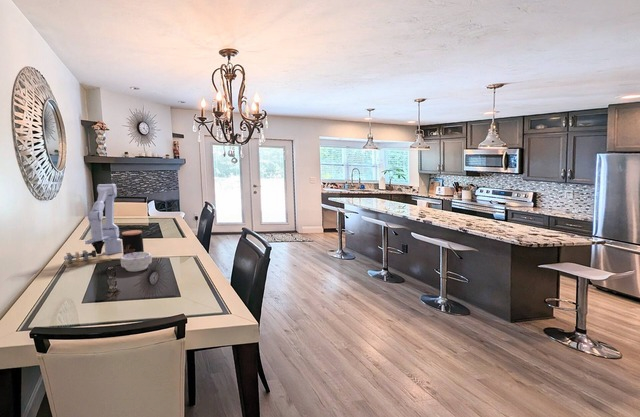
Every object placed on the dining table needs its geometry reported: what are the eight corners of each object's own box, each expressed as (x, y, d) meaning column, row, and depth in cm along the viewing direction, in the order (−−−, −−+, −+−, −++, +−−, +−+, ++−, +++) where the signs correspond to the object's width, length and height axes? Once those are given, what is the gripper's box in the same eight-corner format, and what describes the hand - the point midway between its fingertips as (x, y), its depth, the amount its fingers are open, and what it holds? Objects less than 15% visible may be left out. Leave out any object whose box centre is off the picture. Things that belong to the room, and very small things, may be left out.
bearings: (86, 258, 232) (85, 250, 232) (88, 260, 228) (87, 252, 227) (67, 261, 226) (66, 253, 226) (69, 263, 222) (68, 254, 221)
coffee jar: (120, 263, 226) (117, 232, 224) (136, 259, 235) (133, 229, 233) (132, 265, 221) (129, 234, 219) (148, 261, 230) (146, 230, 228)
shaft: (95, 256, 234) (94, 249, 234) (96, 257, 231) (95, 250, 231) (64, 261, 224) (63, 254, 224) (65, 262, 221) (64, 255, 221)
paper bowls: (140, 274, 205) (139, 259, 204) (115, 272, 208) (113, 258, 207) (158, 266, 220) (157, 252, 219) (133, 265, 223) (132, 251, 222)
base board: (106, 257, 242) (106, 254, 242) (111, 260, 233) (111, 258, 233) (64, 263, 228) (64, 261, 228) (67, 268, 219) (67, 265, 219)
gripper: (102, 228, 240) (104, 250, 242) (80, 233, 227) (82, 256, 229) (111, 229, 238) (113, 251, 239) (89, 233, 224) (91, 257, 226)
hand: (99, 253), depth 234 cm, fingers closed
